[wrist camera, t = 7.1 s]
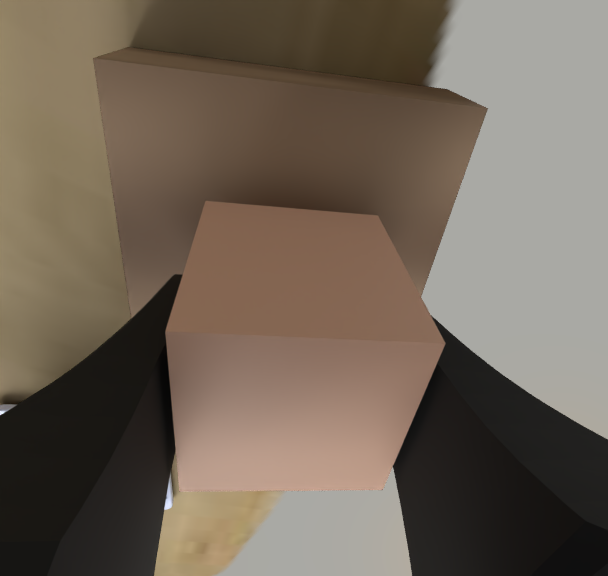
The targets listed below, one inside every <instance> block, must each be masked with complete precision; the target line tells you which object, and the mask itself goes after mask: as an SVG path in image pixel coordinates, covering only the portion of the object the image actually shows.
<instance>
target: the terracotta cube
mask: <svg viewBox="0 0 608 576" xmlns="http://www.w3.org/2000/svg"><path fill="white" fill-rule="evenodd" d="M165 334H166V345H167V357H168V368H169V379H170V390H171V402H172V413H173V424H174V435H175V447H176V458H177V469H178V481H179V492H183V491H301V490H302V491H308V490H309V491H310V490H383V488H384V486H385V483H386V481H387V479H388V476H389V474H390V472H391V469H392V467H393V465H394V462H395V460H396V458H397V455H398V453H399V451H400V448H401V446H402V444H403V441H404V439H405V437H406V434H407V432H408V430H409V427H410V425H411V423H412V420H413V418H414V416H415V413H416V411H417V409H418V406H419V404H420V402H421V399H422V397H423V395H424V393H425V390H426V388H427V386H428V383H429V381H430V379H431V376H432V374H433V372H434V369H435V367H436V365H437V362H438V360H439V358H440V355H441V353H442V351H443V348H444V346H445V344H446V343H445V342H444V340H443V338H442V336H441V334H440V332H439V330H438V328H437V326H436V325H435V323H434V321H433V319H432V317H431V315H430V313H429V312H428V310H427V308H426V306H425V304H424V302H423V300H422V298H421V296H420V294H419V292H418V290H417V289H416V287H415V285H414V283H413V281H412V279H411V277H410V275H409V273H408V272H407V270H406V268H405V266H404V264H403V262H402V260H401V258H400V256H399V254H398V253H397V251H396V249H395V247H394V245H393V243H392V241H391V239H390V237H389V236H388V234H387V232H386V230H385V228H384V226H383V224H382V222H381V220H380V219H379V217H378V215H366V214H354V213H342V212H331V211H319V210H307V209H296V208H284V207H272V206H260V205H249V204H237V203H225V202H213V201H205V204H204V207H203V211H202V214H201V217H200V220H199V224H198V227H197V230H196V233H195V237H194V240H193V243H192V246H191V250H190V253H189V256H188V259H187V263H186V266H185V269H184V272H183V276H182V279H181V282H180V285H179V289H178V292H177V295H176V298H175V302H174V305H173V308H172V311H171V315H170V318H169V321H168V324H167V328H166V331H165Z"/></svg>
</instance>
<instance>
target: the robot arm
mask: <svg viewBox="0 0 608 576" xmlns="http://www.w3.org/2000/svg"><path fill="white" fill-rule="evenodd" d="M182 276H183V275H182V274H174V275H173V276H172V277H171V278H170V279H169V280H168V281H167V282H166V283H165V284H164V285H163V286H162V288H161V289H160V290H159V291H158V292H157V293H156V294H155V295H154V296H153V297H152V298H151V299H150V300H149V301H148V302H147V303H146V305H145V306H144V307H143V308H141V309H140V310H139V311H138V312H137V313H136V314H135V315H134V316H133V317H132V318H131V319H130V320H129V321H128V322H127V323H126V324H125V325H124V326H123V327H122V328H121V329H120V330H118V331H117V332H116V333H115V334H114V335H113V336H112V337H110V338H109V339H108V340H107V341H106V342H105V343H103V344H102V345H101V346H100V347H99V348H98V349H97V350H95V351H94V352H93V353H92V354H90V355H89V356H88V357H87V358H85V359H84V360H83V361H81V362H80V363H79V364H77V365H76V366H75V367H73V368H72V369H71V370H69V371H68V372H67V373H65V374H64V375H63V376H61V377H60V378H58V379H57V380H55V381H54V382H52V383H51V384H49V385H48V386H46V387H45V388H43V389H41V390H40V391H38V392H37V393H35V394H34V395H32V396H30V397H29V398H27V399H26V400H24V401H22V402H21V403H19V404H18V405H14V404H3V405H0V576H154V571H155V564H156V557H157V551H158V545H159V539H160V532H161V526H162V520H163V514H164V510H166V509H170V508H171V507H172V505H173V491H172V482H171V468H172V463H173V459H174V455H175V451H176V447H175V435H174V424H173V413H172V402H171V390H170V379H169V368H168V357H167V345H166V334H165V331H166V328H167V324H168V321H169V318H170V315H171V311H172V308H173V305H174V302H175V298H176V295H177V292H178V289H179V285H180V282H181V279H182ZM431 317H432V316H431ZM432 319H433V321H434V323H435V325H436V326H437V328H438V330H439V332H440V334H441V336H442V338H443V340H444V342H445V343H446V344H445V346H444V348H443V351H442V353H441V355H440V358H439V360H438V362H437V365H436V367H435V369H434V372H433V374H432V376H431V379H430V381H429V383H428V386H427V388H426V390H425V393H424V395H423V397H422V399H421V402H420V404H419V406H418V409H417V411H416V413H415V416H414V418H413V420H412V423H411V425H410V427H409V430H408V432H407V434H406V437H405V439H404V441H403V444H402V446H401V448H400V451H399V453H398V455H397V458H396V460H395V462H394V465H393V468H394V473H395V478H396V483H397V488H398V493H399V498H400V503H401V509H402V515H403V521H404V526H405V533H406V538H407V544H408V550H409V557H410V563H411V570H412V576H608V439H605V438H604V437H602V436H600V435H598V434H596V433H595V432H593V431H591V430H589V429H587V428H585V427H583V426H582V425H580V424H578V423H577V422H575V421H573V420H571V419H570V418H568V417H567V416H565V415H563V414H561V413H560V412H558V411H557V410H555V409H553V408H552V407H550V406H548V405H547V404H545V403H543V402H542V401H540V400H539V399H537V398H535V397H534V396H532V395H531V394H529V393H528V392H526V391H525V390H524V389H522V388H521V387H519V386H518V385H516V384H515V383H513V382H512V381H511V380H509V379H508V378H506V377H505V376H503V375H502V374H501V373H499V372H498V371H497V370H495V369H494V368H493V367H491V366H490V365H489V364H487V363H486V362H485V361H484V360H482V359H481V358H480V357H479V356H477V355H476V354H475V353H473V352H472V351H471V350H470V349H469V348H467V347H466V346H465V345H464V344H463V343H461V342H460V341H459V340H458V339H457V338H456V337H455V336H453V335H452V334H451V333H450V332H449V331H448V330H447V329H445V328H444V327H443V326H442V325H441V324H440V323H439V322H438V321H437V320H436V319H434V318H433V317H432Z"/></svg>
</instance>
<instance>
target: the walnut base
mask: <svg viewBox="0 0 608 576" xmlns="http://www.w3.org/2000/svg"><path fill="white" fill-rule="evenodd" d="M93 60H94V67H95V74H96V81H97V88H98V94H99V101H100V108H101V115H102V122H103V129H104V136H105V142H106V149H107V156H108V163H109V170H110V177H111V184H112V190H113V197H114V204H115V211H116V218H117V225H118V232H119V238H120V245H121V252H122V259H123V266H124V273H125V280H126V286H127V293H128V300H129V307H130V314H131V318H132V317H133V316H134V315H135V314H136V313H137V312H138V311H139V310H140V309H141V308H143V307H144V306H145V305H146V303H147V302H148V301H149V300H150V299H151V298H152V297H153V296H154V295H155V294H156V293H157V292H158V291H159V290H160V289H161V288H162V286H163V285H164V284H165V283H166V282H167V281H168V280H169V279H170V278H171V277H172V276H173V275H174V274H182V275H183V272H184V269H185V266H186V263H187V259H188V256H189V253H190V250H191V246H192V243H193V240H194V237H195V233H196V230H197V227H198V224H199V220H200V217H201V214H202V211H203V207H204V204H205V201H213V202H225V203H237V204H249V205H260V206H272V207H284V208H296V209H307V210H319V211H331V212H342V213H354V214H366V215H378V217H379V219H380V220H381V222H382V224H383V226H384V228H385V230H386V232H387V234H388V236H389V237H390V239H391V241H392V243H393V245H394V247H395V249H396V251H397V253H398V254H399V256H400V258H401V260H402V262H403V264H404V266H405V268H406V270H407V272H408V273H409V275H410V277H411V279H412V281H413V283H414V285H415V287H416V289H417V290H418V292H419V294H420V296H421V295H422V293H423V290H424V287H425V284H426V281H427V278H428V276H429V273H430V270H431V267H432V264H433V262H434V259H435V256H436V253H437V250H438V247H439V245H440V242H441V239H442V236H443V233H444V231H445V227H446V225H447V222H448V219H449V216H450V214H451V211H452V208H453V205H454V202H455V200H456V197H457V194H458V191H459V188H460V185H461V183H462V180H463V177H464V174H465V171H466V168H467V166H468V163H469V160H470V157H471V154H472V152H473V149H474V146H475V143H476V140H477V137H478V135H479V132H480V129H481V126H482V123H483V121H484V117H485V115H486V112H487V109H488V108H486V107H484V106H481V105H479V104H477V103H475V102H473V101H471V100H469V99H467V98H465V97H462V96H460V95H458V94H456V93H454V92H452V91H450V90H447V89H441V88H434V87H426V86H419V85H411V84H404V83H396V82H388V81H381V80H373V79H366V78H358V77H351V76H343V75H336V74H328V73H321V72H313V71H305V70H298V69H290V68H283V67H275V66H268V65H260V64H253V63H245V62H237V61H230V60H222V59H215V58H207V57H200V56H192V55H185V54H177V53H169V52H162V51H154V50H147V49H139V48H132V47H127V48H124V49H121V50H118V51H114V52H111V53H108V54H105V55H102V56H98V57H95V58H93Z"/></svg>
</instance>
